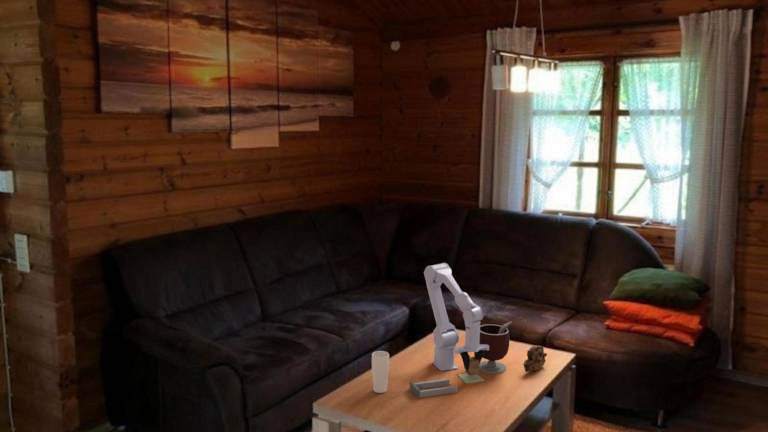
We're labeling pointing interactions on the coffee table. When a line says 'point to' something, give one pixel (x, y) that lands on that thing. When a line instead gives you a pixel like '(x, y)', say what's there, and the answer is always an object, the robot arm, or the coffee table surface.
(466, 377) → the pad
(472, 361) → the block
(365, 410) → the coffee table surface
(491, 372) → the mate gourd
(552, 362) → the coffee table surface
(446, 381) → the channel
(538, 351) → the wooden carving
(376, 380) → the drinking glass
